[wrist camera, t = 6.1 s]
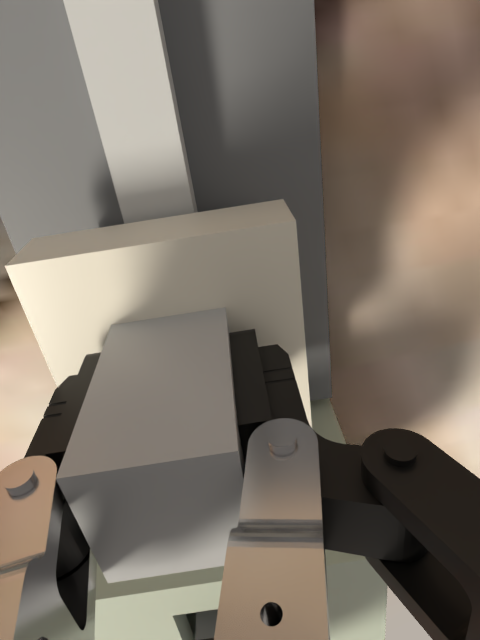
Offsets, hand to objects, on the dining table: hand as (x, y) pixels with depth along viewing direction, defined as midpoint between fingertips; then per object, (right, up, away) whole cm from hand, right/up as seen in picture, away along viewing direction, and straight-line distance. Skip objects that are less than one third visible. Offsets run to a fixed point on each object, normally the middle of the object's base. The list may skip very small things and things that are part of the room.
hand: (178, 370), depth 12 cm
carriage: (0, +2, +3) cm, 4 cm away
